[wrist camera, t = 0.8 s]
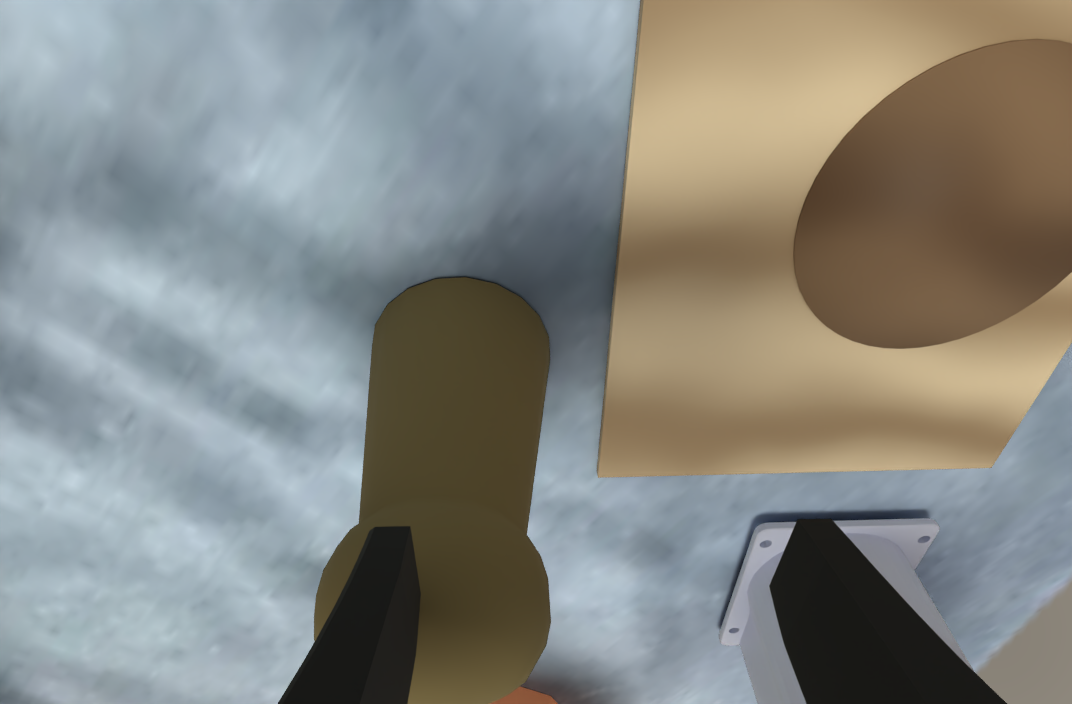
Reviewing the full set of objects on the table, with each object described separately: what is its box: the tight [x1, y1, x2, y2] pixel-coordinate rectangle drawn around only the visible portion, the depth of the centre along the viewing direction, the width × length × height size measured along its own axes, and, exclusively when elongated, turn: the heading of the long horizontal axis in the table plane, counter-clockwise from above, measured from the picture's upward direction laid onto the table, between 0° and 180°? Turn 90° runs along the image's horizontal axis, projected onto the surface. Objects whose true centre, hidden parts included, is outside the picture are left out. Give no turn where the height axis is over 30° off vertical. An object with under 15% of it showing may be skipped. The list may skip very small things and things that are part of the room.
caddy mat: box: [597, 0, 1072, 478], centre depth 20 cm, size 18×16×1 cm
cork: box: [314, 277, 551, 704], centre depth 17 cm, size 6×6×11 cm
